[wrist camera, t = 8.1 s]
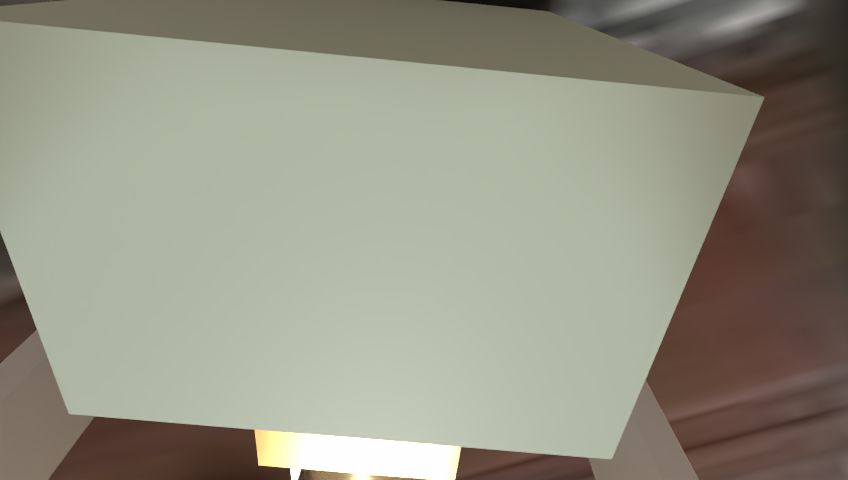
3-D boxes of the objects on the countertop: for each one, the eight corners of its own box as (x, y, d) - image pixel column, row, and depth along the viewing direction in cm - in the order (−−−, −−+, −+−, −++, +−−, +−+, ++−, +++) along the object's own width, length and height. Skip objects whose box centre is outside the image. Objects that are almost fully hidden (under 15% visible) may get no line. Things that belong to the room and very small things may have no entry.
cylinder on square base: (317, 538, 23) (284, 691, 18) (305, 119, 13) (229, 205, 9) (418, 546, 23) (412, 700, 18) (479, 136, 14) (501, 230, 9)
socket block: (278, 161, 19) (69, 414, 8) (268, -18, 16) (-82, 14, 5) (515, 183, 19) (612, 459, 8) (548, 11, 16) (764, 97, 5)
